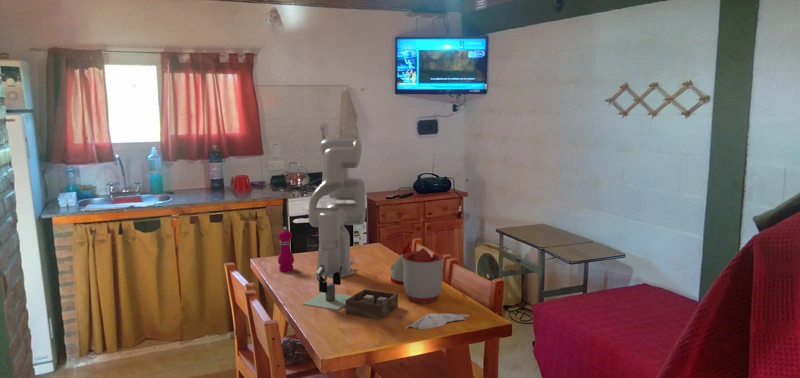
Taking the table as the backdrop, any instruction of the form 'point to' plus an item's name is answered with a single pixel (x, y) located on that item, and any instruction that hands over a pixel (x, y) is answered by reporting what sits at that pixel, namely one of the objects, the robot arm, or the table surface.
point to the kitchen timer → (399, 268)
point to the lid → (328, 299)
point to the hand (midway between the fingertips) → (330, 288)
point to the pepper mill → (285, 251)
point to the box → (372, 304)
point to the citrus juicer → (422, 275)
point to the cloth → (436, 320)
